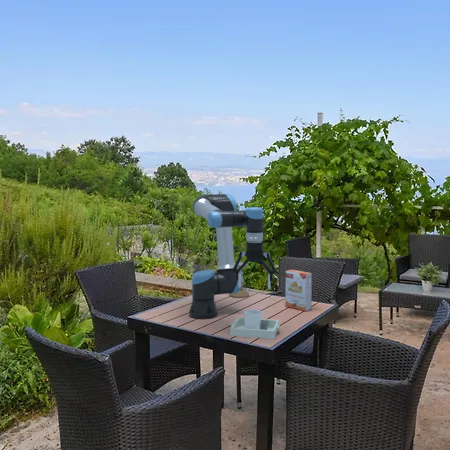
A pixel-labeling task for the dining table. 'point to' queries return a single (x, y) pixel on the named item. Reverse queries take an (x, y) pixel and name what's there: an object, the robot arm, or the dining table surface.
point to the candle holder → (242, 292)
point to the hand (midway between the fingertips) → (254, 287)
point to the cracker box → (298, 290)
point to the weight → (263, 325)
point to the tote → (240, 330)
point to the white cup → (252, 319)
